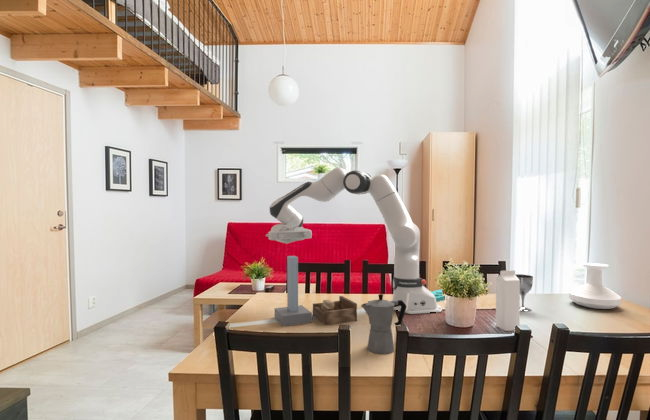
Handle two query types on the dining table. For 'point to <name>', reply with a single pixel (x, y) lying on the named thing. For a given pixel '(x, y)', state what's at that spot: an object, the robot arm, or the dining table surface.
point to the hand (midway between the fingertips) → (295, 235)
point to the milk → (507, 300)
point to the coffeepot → (382, 324)
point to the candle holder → (595, 290)
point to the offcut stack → (327, 305)
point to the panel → (292, 283)
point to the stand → (293, 316)
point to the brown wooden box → (337, 312)
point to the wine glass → (524, 288)
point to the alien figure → (438, 295)
